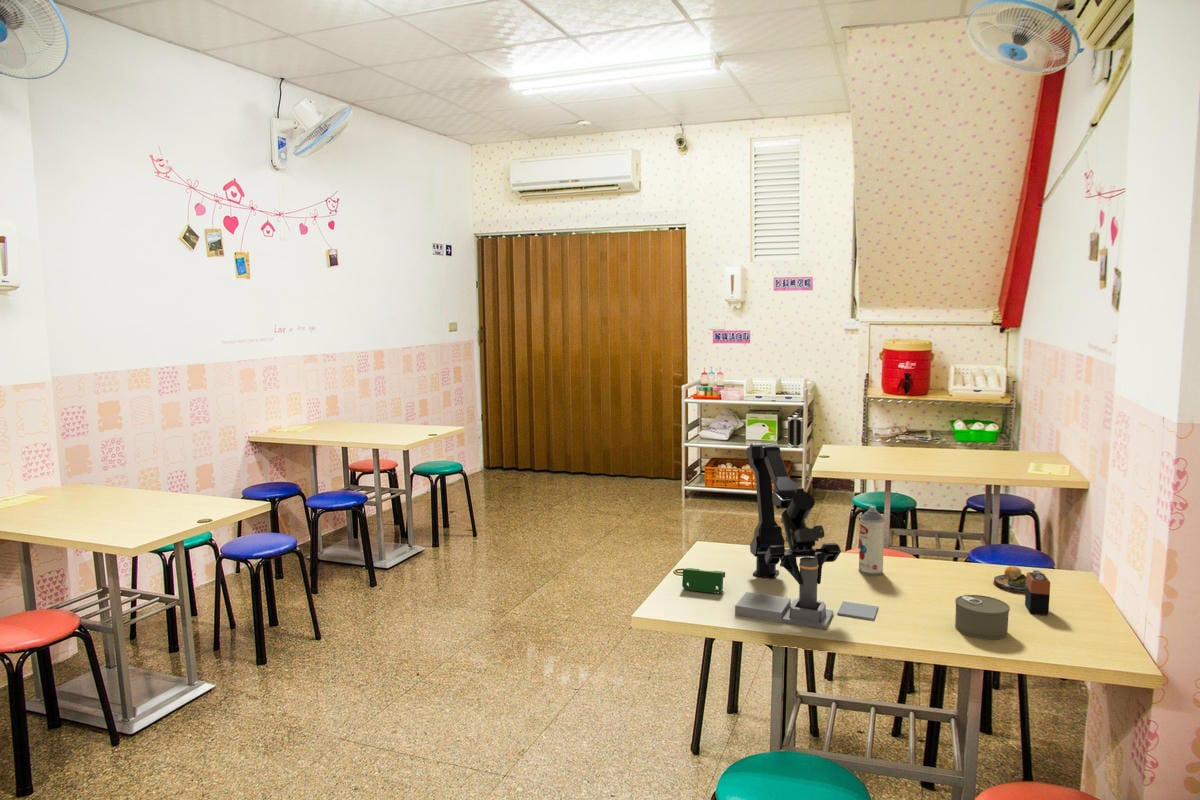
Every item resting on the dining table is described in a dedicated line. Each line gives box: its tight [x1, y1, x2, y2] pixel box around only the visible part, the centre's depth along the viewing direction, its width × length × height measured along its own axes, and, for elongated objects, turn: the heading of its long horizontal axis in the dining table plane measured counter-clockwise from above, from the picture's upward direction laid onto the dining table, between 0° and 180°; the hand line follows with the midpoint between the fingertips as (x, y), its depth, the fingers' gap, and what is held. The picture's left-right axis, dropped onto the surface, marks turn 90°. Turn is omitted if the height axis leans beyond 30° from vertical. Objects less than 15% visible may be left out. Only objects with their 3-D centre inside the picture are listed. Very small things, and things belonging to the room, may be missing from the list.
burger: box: [993, 564, 1026, 595], centre depth 224 cm, size 12×12×8 cm
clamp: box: [681, 567, 726, 594], centre depth 224 cm, size 12×6×9 cm, turn 64°
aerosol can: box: [858, 505, 885, 577], centre depth 236 cm, size 7×7×20 cm
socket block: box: [734, 591, 834, 630], centre depth 205 cm, size 11×23×4 cm, turn 64°
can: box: [954, 594, 1011, 641], centre depth 194 cm, size 12×12×7 cm
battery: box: [1024, 569, 1051, 616], centre depth 206 cm, size 4×7×10 cm, turn 163°
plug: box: [798, 557, 818, 610], centre depth 201 cm, size 5×5×13 cm
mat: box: [836, 601, 879, 621], centre depth 207 cm, size 9×9×1 cm
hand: (810, 584), depth 200 cm, fingers closed on plug, 4 cm apart
